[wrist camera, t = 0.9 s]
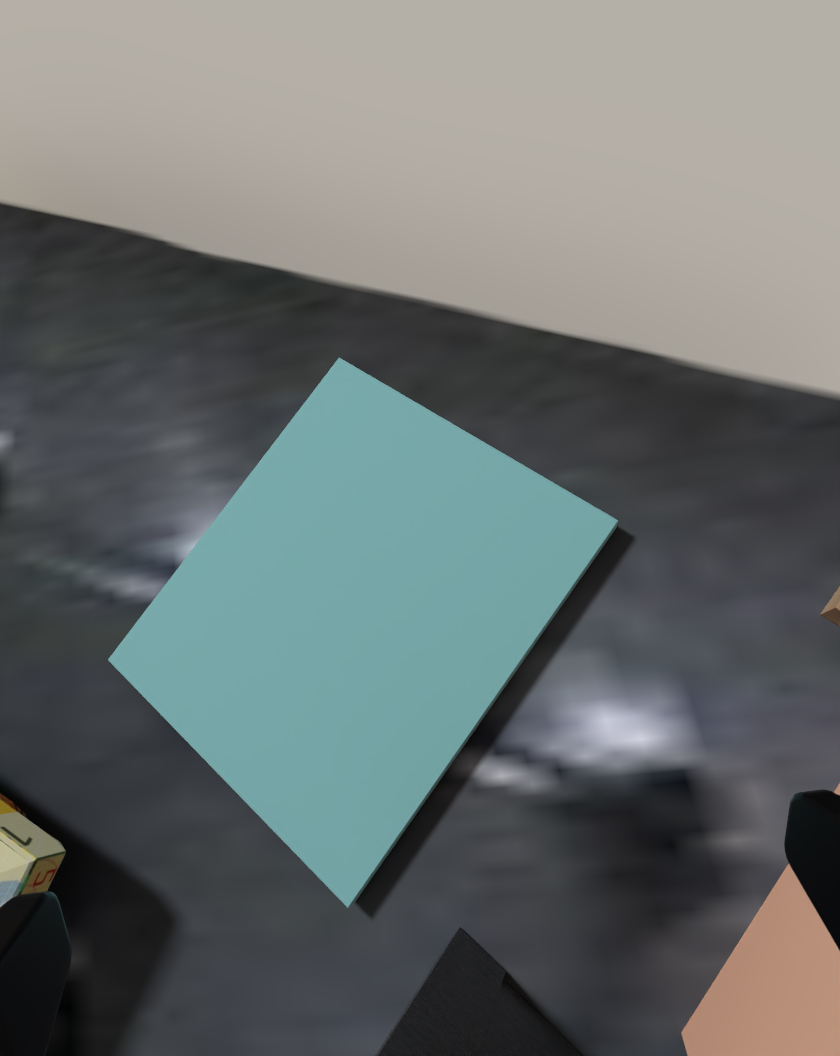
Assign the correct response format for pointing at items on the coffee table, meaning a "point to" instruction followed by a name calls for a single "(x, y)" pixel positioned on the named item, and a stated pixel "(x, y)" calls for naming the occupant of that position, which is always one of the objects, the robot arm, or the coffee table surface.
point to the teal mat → (357, 617)
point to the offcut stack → (833, 609)
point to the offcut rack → (471, 1012)
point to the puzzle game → (25, 854)
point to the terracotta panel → (774, 985)
